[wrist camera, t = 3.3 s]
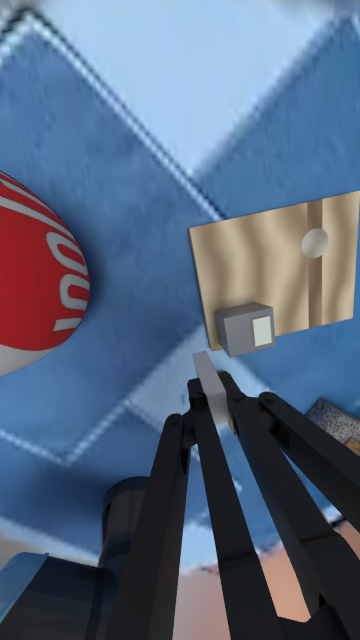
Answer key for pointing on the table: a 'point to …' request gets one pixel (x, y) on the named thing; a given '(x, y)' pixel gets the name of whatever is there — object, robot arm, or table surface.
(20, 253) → the decorative sphere
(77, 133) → the table surface
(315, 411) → the figurine
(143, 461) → the table surface
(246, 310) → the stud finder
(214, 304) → the board
